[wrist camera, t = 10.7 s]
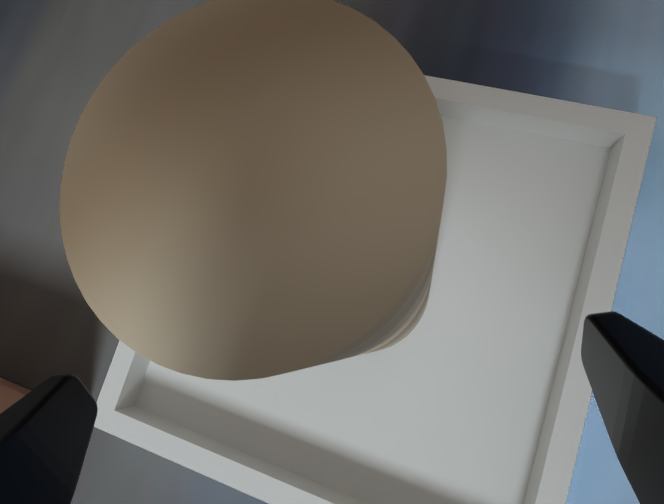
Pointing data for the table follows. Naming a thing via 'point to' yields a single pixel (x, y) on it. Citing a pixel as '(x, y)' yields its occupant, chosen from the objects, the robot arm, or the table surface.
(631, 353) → the robot arm
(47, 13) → the table surface
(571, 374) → the grey tray
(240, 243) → the beech cylinder
